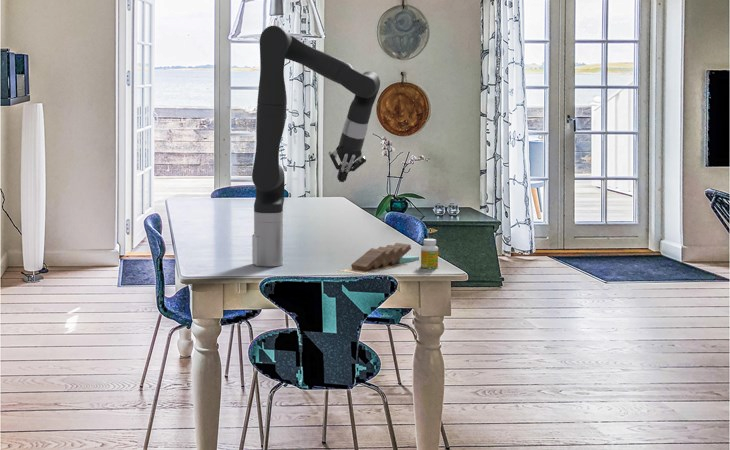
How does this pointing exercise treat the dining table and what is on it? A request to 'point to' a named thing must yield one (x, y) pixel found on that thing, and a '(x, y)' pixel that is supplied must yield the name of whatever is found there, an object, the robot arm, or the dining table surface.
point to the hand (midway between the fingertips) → (340, 180)
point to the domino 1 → (368, 259)
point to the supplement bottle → (429, 254)
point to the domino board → (371, 269)
